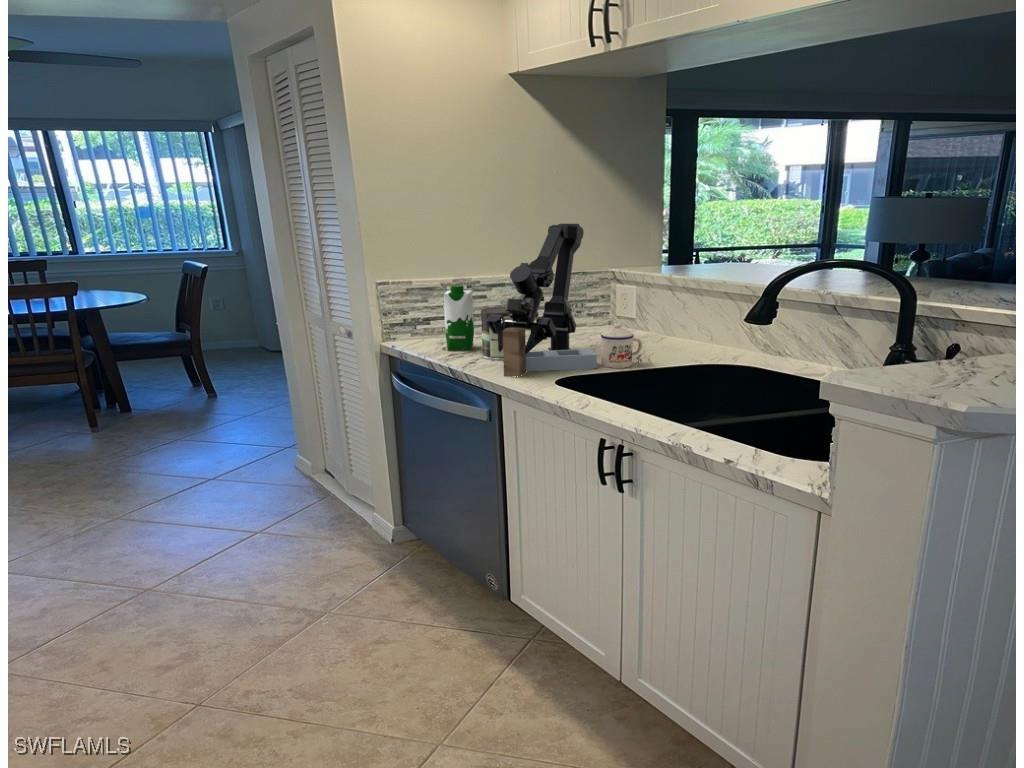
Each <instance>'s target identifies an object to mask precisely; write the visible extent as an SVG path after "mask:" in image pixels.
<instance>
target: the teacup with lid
mask: <svg viewBox="0 0 1024 768" xmlns="http://www.w3.org/2000/svg"><path fill="white" fill-rule="evenodd" d="M600 337H601V366H602V367H604V366H606V367H605V368H608V367H612V368H611V369H625V367H627V368H629V366H630V367H631V365H632V366H633V357H634V356H636V355H639V353H641V351H642V349H643V343H642V340H641V339H639V338H637V337H635V335H634V333H633V332H632V331H630V330H627V329H626V328H624V327H622V324H620V323H615V324H614V325H613V327H611V328H609V329H608V330H605V331H602V332H601V334H600ZM634 342H638V347H637V350H636V351H635V352H634V351H633V350H634V349H633V347H634Z"/></svg>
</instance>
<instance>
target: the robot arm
mask: <svg viewBox="0 0 1024 768" xmlns="http://www.w3.org/2000/svg"><path fill="white" fill-rule="evenodd" d="M583 237H584V229H583V227H582V226H581V225H580V223H570V222H569V223H566V222H565V223H564V222H563V223H561V222H560V223H558V224H552V225H549V226H548V229H547V235H546V237H545V240H544V242H543V244H542V246H541V248H540V251H539V253H538V256H537V257H536V258H535V259H534V260H532V261H531V262H530V263H528V262H521V263H520V265H518V266H516V267H515V268H514V269H513V270H511V271H510V274H509V278H510V281H511V282H512V283H513V285H514V288H515V290H516V292H517V293H518V294H520V297H519V299H518V298H507V299H506V304H505V305H506V306H505V307H506V311H508V312H509V313H510V315H509V316H510V318H512V319H513V320H512V321H507V320H505V319H504V317H503V315H490V316H489V317H488V319H487V324H488V326H489V327H490V329H491V331H492V332H493V333H495V334H498V350H499V352H501V351H502V349H503V330H505V329H508V328H525V331H526V330H527V331H530V334H529V336H528V338H527V342H526V347H525V351H524V352H525V354H527V353H528V352H529V351H533V349H534V348H535V347H536V346H537V345H538V344H540V343H541V342H543V341H544V340H547V339H548V338H549V339H550V347H548V348H547V351H551V350H572V349H571V348H570V334H573V333H574V334H575V333H576V329H577V324H576V323H577V322H576V321H575V319H574V316H573V314H572V313H573V312H572V311H573V310H572V307H571V305H570V303H569V291H570V285H571V277H572V272H573V271H572V270H573V263H574V255H575V253H576V252H577V251H578V249H579V248H580V247H581V244H582V240H583ZM555 262H556V265H555V271H554V270H553V266H554V264H555ZM552 284H553V289H552V295H551V298H550V299H549V300H548V301H545V297H544V291H543V290H542V289H543V288H547V289H548V288H550V286H551V285H552ZM544 301H545V303H544V310H543V313H542V317H539V315H540V314H539V312H538V311H539V307H540V305H541V303H542V302H544ZM535 320H536V321H535Z"/></svg>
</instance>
